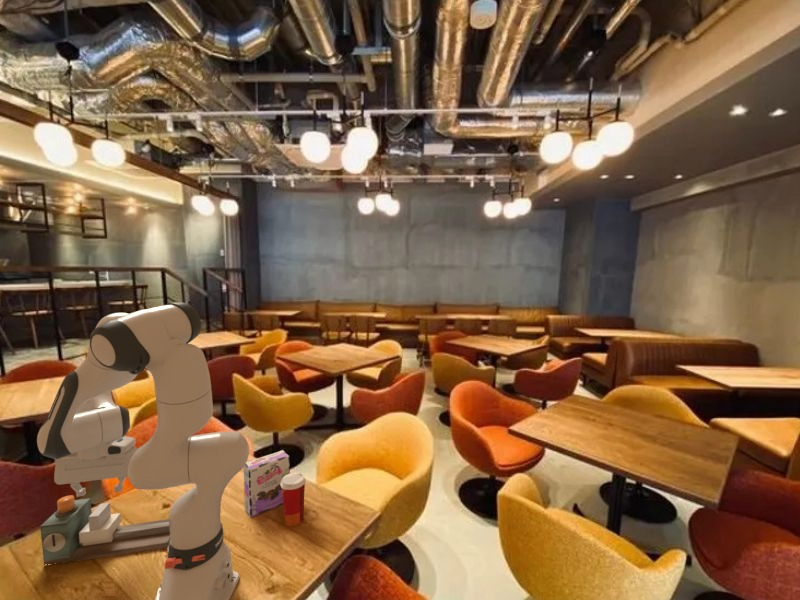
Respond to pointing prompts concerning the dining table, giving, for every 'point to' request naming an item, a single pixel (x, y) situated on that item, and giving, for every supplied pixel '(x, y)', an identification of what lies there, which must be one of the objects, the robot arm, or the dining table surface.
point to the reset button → (66, 504)
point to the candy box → (265, 482)
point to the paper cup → (293, 498)
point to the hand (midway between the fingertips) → (100, 493)
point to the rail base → (66, 545)
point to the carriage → (100, 526)
